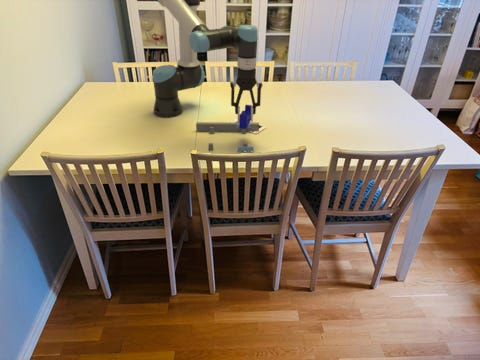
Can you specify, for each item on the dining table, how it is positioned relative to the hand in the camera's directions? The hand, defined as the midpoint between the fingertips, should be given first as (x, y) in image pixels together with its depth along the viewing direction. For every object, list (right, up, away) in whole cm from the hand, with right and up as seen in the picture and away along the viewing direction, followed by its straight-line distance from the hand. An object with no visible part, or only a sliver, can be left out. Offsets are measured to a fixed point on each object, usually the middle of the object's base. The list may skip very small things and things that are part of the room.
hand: (245, 120), depth 148 cm
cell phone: (+1, 0, +20) cm, 20 cm away
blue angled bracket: (0, -1, 0) cm, 1 cm away
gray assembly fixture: (-8, -8, +6) cm, 13 cm away
